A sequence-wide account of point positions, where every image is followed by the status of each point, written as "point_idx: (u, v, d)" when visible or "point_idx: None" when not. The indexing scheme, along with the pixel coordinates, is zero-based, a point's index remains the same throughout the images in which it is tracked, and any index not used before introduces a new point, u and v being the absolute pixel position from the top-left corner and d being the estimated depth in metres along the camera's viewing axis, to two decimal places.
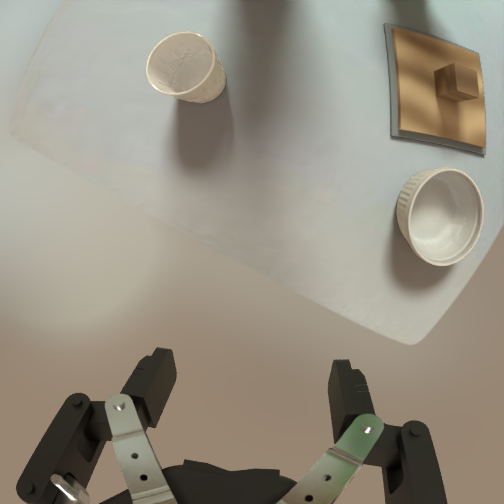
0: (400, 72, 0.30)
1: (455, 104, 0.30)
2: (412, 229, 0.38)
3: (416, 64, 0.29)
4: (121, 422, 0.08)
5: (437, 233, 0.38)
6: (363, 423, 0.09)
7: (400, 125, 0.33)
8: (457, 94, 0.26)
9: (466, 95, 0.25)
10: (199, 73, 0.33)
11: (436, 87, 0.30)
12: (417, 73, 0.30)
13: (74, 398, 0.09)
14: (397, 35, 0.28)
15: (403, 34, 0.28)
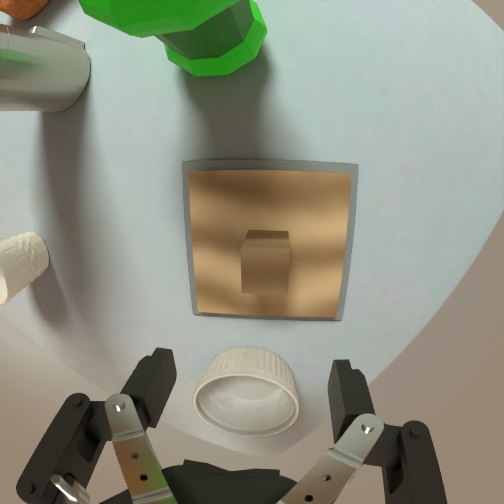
0: (194, 242, 0.31)
1: None
2: (232, 392, 0.39)
3: (220, 225, 0.30)
4: (121, 422, 0.08)
5: (264, 395, 0.38)
6: (363, 423, 0.09)
7: (198, 307, 0.33)
8: None
9: None
10: None
11: None
12: (219, 240, 0.30)
13: (74, 398, 0.09)
14: (193, 185, 0.28)
15: (202, 179, 0.28)
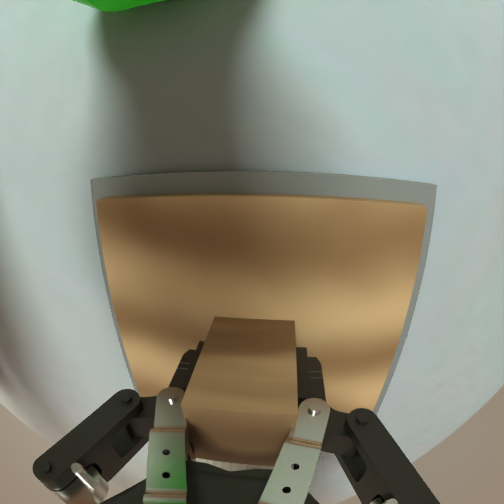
0: (123, 328, 0.16)
1: None
2: None
3: (160, 305, 0.15)
4: (177, 415, 0.09)
5: None
6: (309, 408, 0.10)
7: None
8: None
9: None
10: None
11: None
12: (163, 329, 0.15)
13: (124, 393, 0.10)
14: (105, 227, 0.13)
15: (119, 217, 0.13)
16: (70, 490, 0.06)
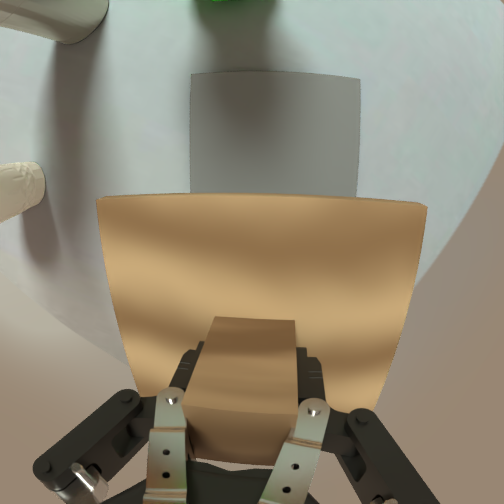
0: (123, 328, 0.16)
1: None
2: None
3: (160, 304, 0.15)
4: (177, 415, 0.09)
5: None
6: (309, 408, 0.10)
7: None
8: None
9: None
10: None
11: None
12: (163, 329, 0.15)
13: (124, 394, 0.10)
14: (105, 227, 0.13)
15: (119, 216, 0.13)
16: (70, 490, 0.06)
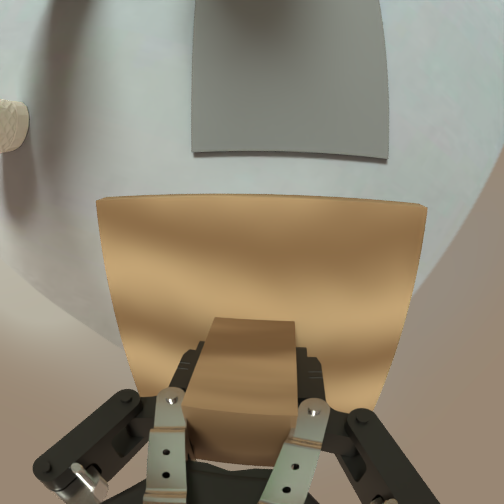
0: (123, 329, 0.16)
1: None
2: None
3: (160, 305, 0.15)
4: (178, 415, 0.09)
5: None
6: (309, 408, 0.10)
7: None
8: None
9: None
10: None
11: None
12: (163, 329, 0.15)
13: (124, 394, 0.10)
14: (105, 227, 0.13)
15: (119, 217, 0.13)
16: (70, 490, 0.06)
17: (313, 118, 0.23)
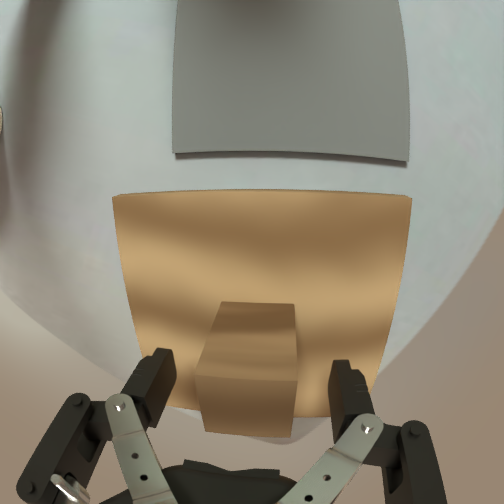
0: (136, 316, 0.17)
1: None
2: None
3: (172, 292, 0.16)
4: (121, 422, 0.09)
5: None
6: (363, 423, 0.09)
7: None
8: None
9: None
10: None
11: None
12: (173, 315, 0.17)
13: (74, 398, 0.09)
14: (121, 221, 0.15)
15: (134, 212, 0.15)
16: None
17: (320, 111, 0.19)
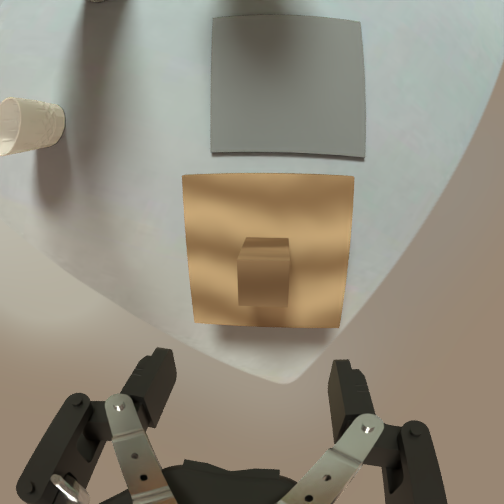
0: (189, 251, 0.29)
1: None
2: None
3: (216, 232, 0.28)
4: (121, 422, 0.08)
5: None
6: (363, 423, 0.09)
7: None
8: None
9: None
10: None
11: None
12: (215, 248, 0.29)
13: (74, 398, 0.09)
14: (186, 190, 0.27)
15: (196, 184, 0.27)
16: None
17: (305, 126, 0.30)
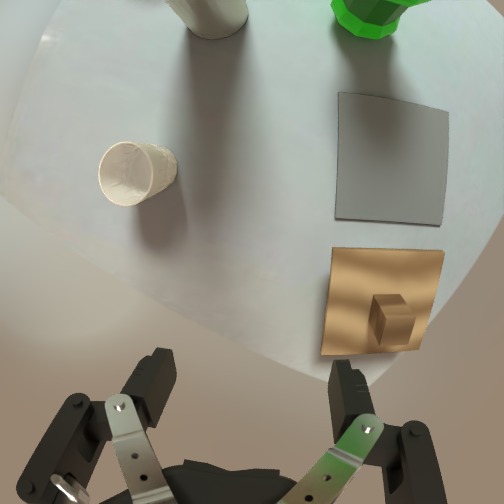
0: (330, 304, 0.37)
1: None
2: None
3: (352, 291, 0.36)
4: (121, 422, 0.08)
5: None
6: (363, 423, 0.09)
7: (321, 351, 0.40)
8: None
9: None
10: None
11: (370, 311, 0.36)
12: (350, 302, 0.36)
13: (74, 398, 0.09)
14: (335, 261, 0.35)
15: (343, 257, 0.34)
16: None
17: (406, 201, 0.38)
